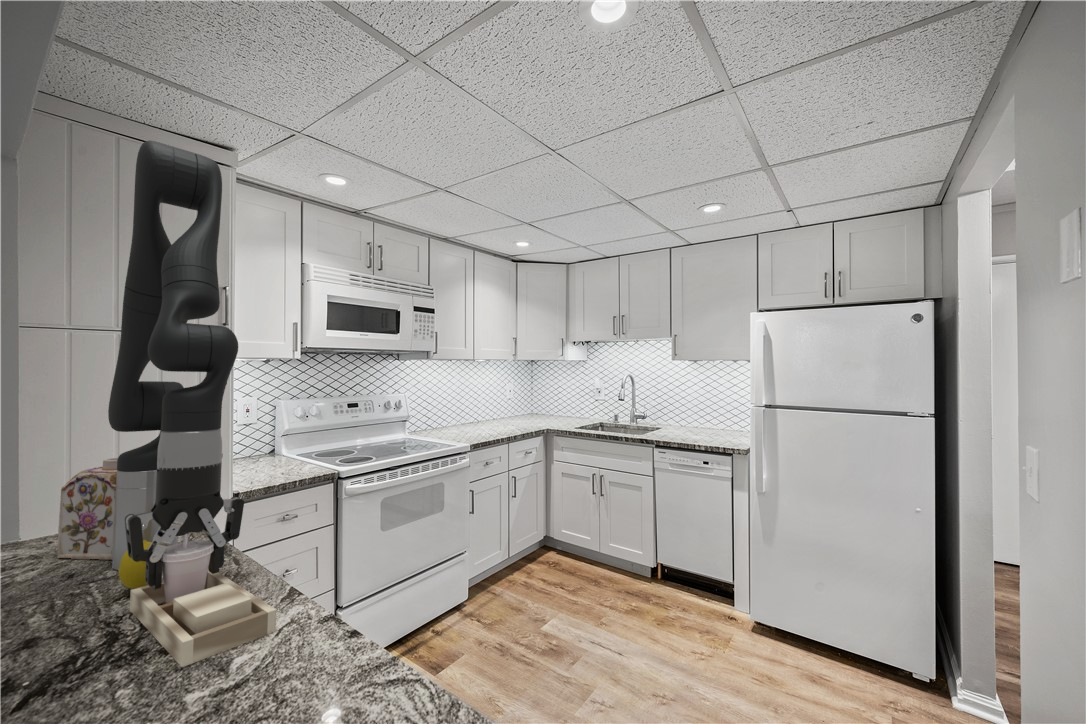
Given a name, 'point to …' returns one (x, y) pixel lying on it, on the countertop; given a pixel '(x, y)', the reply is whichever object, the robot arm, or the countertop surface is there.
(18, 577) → the countertop surface
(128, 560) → the lemon
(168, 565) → the smoothie
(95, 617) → the countertop surface
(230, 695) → the countertop surface
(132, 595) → the offcut rack
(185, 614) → the offcut top
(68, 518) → the decorative jar
